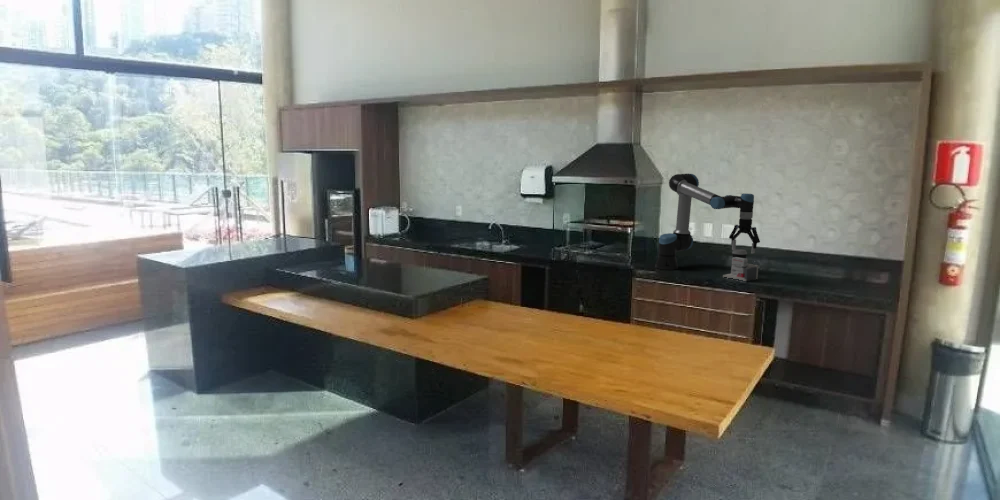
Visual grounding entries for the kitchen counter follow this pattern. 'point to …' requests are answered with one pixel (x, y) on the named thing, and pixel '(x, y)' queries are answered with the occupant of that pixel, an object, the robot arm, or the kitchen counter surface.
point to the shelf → (747, 273)
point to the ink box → (739, 266)
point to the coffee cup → (739, 253)
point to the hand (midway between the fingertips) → (743, 251)
